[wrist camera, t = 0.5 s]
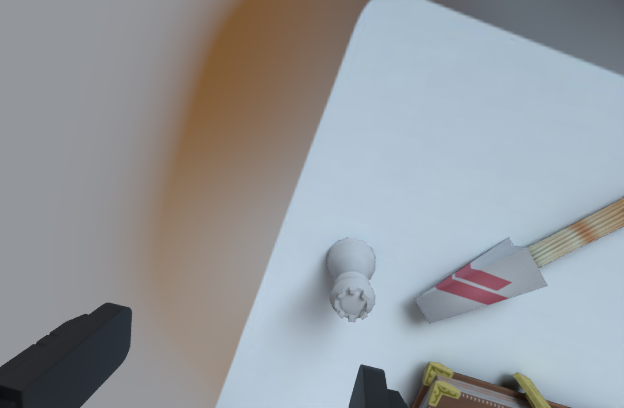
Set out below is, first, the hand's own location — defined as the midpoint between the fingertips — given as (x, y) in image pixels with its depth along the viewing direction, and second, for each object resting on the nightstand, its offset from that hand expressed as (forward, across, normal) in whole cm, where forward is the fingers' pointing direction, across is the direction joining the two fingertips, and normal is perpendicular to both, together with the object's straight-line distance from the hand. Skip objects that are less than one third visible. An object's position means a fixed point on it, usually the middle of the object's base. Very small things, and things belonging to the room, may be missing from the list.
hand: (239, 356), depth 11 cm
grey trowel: (+19, -19, -1) cm, 27 cm away
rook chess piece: (+19, -5, +3) cm, 20 cm away
